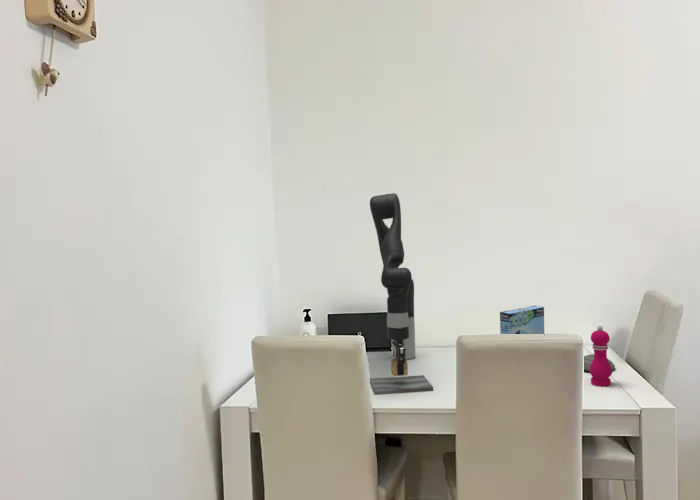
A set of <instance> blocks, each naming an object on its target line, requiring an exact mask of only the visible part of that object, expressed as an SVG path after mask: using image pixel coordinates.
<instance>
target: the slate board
mask: <svg viewBox="0 0 700 500" xmlns="http://www.w3.org/2000/svg"><path fill="white" fill-rule="evenodd" d="M369 379H370V382H369V384H370V386H371V388H372V391H373V394H374V395H386V394H387V395H388V394H390V395H391V394H402V393H403V394H404V393H418V392H419V393H420V392H431V391H432V392H433V391H434V387H433V385H432V384H431V383H430V381H429V380H428V379H427V378H426V376H425V375H424V374H423V375H420V374H419V375H406V376H391V377H375V378H374V377H373V378H369Z"/></svg>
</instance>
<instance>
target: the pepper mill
mask: <svg viewBox="0 0 700 500" xmlns="http://www.w3.org/2000/svg"><path fill="white" fill-rule="evenodd" d="M603 329H604V328H603V326H601V325H599V326H597V329H596V330H595V331H593V332H592V333H591V335H590V340H591V342H592V343H593V344H591V345H592V349H593V354H594V358H593V361H592V363H591V365H590V369H589V371H588V372H589V374H590V376H592V377H591V378H590V384H591V385H593V386H596V387H609V386H611V384H612V383H611V380H612V379H611V378H610V377H611V376H612V374H613V369H611V366H610V364H609V362H608V360H607V359H608V355H607V351H608V350H609V342H610V339H611V338H610V334H609V333H608V332H607V331H605V330H603Z"/></svg>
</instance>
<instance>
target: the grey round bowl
mask: <svg viewBox="0 0 700 500" xmlns="http://www.w3.org/2000/svg"><path fill="white" fill-rule="evenodd" d="M583 356H584V370H583V371H586V372H589V369H590V365H591V363H592V361H593V358H594V353H592V354H591V353H590V354H587V355H583ZM607 360H608V362H609V364H610V366H611V369H612V370H613V369H615V367H616V365H615V363H614V362H612V361H611V360H610V359H608V358H607Z"/></svg>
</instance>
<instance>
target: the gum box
mask: <svg viewBox="0 0 700 500" xmlns="http://www.w3.org/2000/svg"><path fill="white" fill-rule="evenodd" d="M499 322H500V323H499V327H500V328H499V329H500V330H499V331H500V334H544V335H545V307H544V306H543V305H532V306H531V305H530V306H526V307H521V308H516V309H511V310H504V311H500V312H499ZM500 334H499V335H500Z"/></svg>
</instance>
